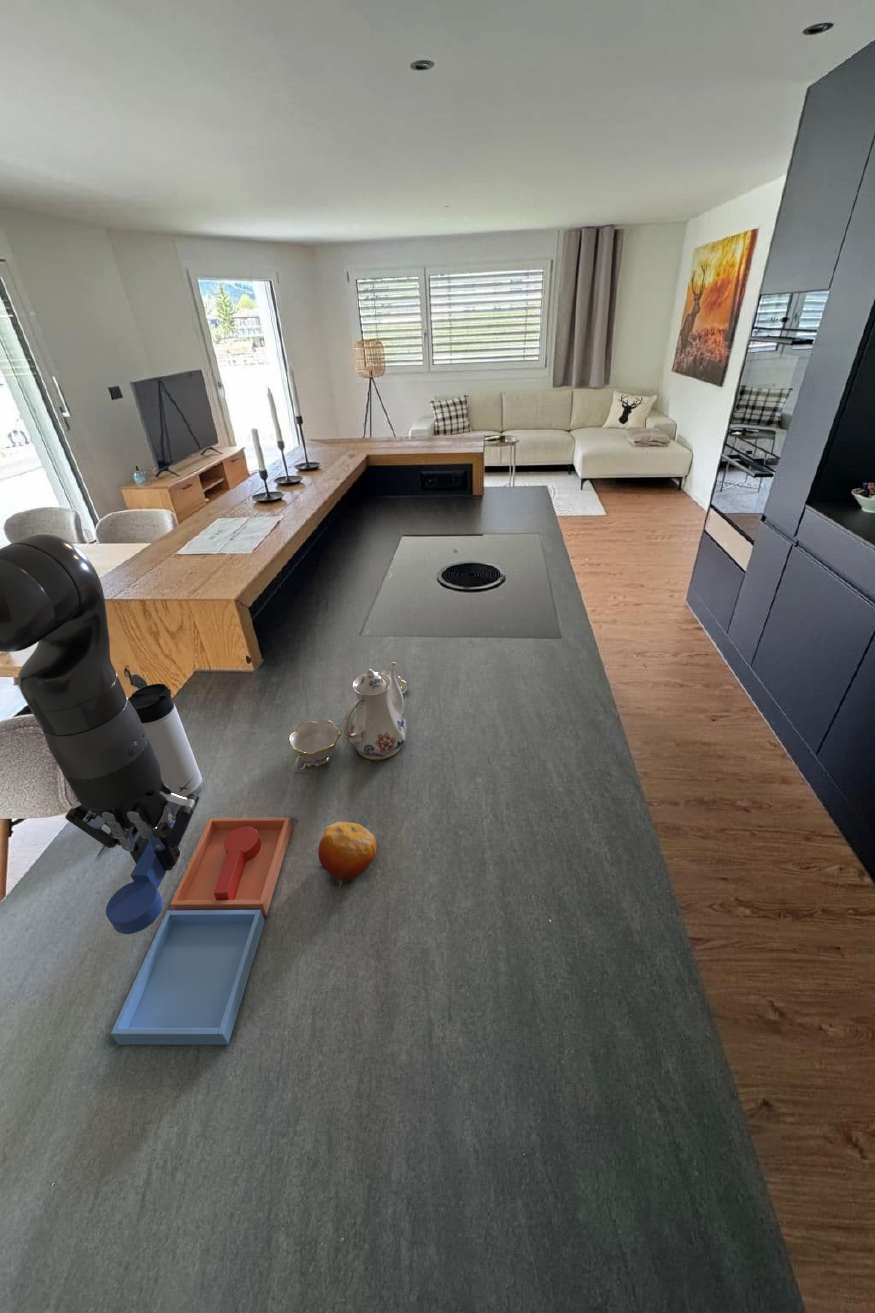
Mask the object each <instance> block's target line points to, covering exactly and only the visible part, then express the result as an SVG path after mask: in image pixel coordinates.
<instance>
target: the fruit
mask: <svg viewBox="0 0 875 1313" xmlns="http://www.w3.org/2000/svg"><path fill="white" fill-rule="evenodd" d="M317 851H318V860H319V863H320V865H321V867H322V869H323V870H324V871H325V872H327V873H328V874H330V875H331V876H332V877H333V879H335V880H336V882H338V889H339V890H341V887H342V884H343V882H344V881H345V882H346V881H348V882H349V881H351V880H353V879H355V878H357V877H359V876H360V875H362V874H363V873H364V872H365V871H366V869H367V868H368V867H369V866H370V865H371V863H372V862H373V861H374V859H375V857H376V855H377V840H376V836H375V834H374V833H373V832H371V831H370V830H368V829H367V828H366V827H364V826H363V825H362V824H360V823H355V822H352V821H351V822H350V821H336V822H334V823H333V824H329V825H327V826H326V827H325V830H324V831H323V833H322V836H321V838H320V840H319V844H318V850H317Z"/></svg>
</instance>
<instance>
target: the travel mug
mask: <svg viewBox="0 0 875 1313" xmlns="http://www.w3.org/2000/svg"><path fill="white" fill-rule="evenodd" d="M128 700H129V701H130V703H131V704H132V706H133V707H134V709H135V710H136V712H137V714H138V716H139V718H140V721H141V723H142V725H143V728H144V730H145V732H146V734H147V737H148V739H149V741H150V744H151V746H152V748H153V751H154V753H155V755H156V757H157V760H158V762H159V765H160V772H161V779H162V781H163V782H164V783H165V784H166V785H168V786H169V787H170V788H171V791H172V794H174V795H177V796H180V797H183V798H186V797H187V795H188V794H191V793H193V794H196V795H197V796H198V794H199V793H200V792H201V791H202V790H203V786H204V780H203V776H202V774H201V771H200V769H199V766H198V764H197V761H196V758H195V755H194V752H193V750H192V747H191V744H190V741H189V739H188V736H187V733H186V731H185V728H184V725H183V723H182V720H181V717H180V715H179V712H178V709H177V707H176V704H175V702H174V700H173V696H172V690H171V689H170V688H169V686H168V685H166V684H164V683H152V684H149V685H145V686H143V687H141V688H139V689H137V690H135V691H134V692H133V693H131V696H129V697H128Z"/></svg>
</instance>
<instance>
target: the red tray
mask: <svg viewBox="0 0 875 1313" xmlns="http://www.w3.org/2000/svg"><path fill="white" fill-rule="evenodd" d="M241 827H252V828H254V829H255V830H256V831H257V832H258V835H259V838H260V841H261V849H260V851H259V853H258V854H257V855H256V856H255V857H254V858H252V859H251V860H249V861H246V864H245V868H244V871H243V874H242V877H241V880H240V884H239V887H238V890H237V893H236V897H235V900H216V898H215V896H214V894H213V893H214V890H215V887H216V885H217V882H218V879H219V876H220V873H221V870H222V867H223V864H224V862H225V859H226V856H227V853H226V850H225V848H224V842H225V839H226V837H227V836H228V835H229V834H230V833H231V832H232V831H234V830H236V829H238V828H241ZM292 831H293V826H292V821H291V818H290V817H289V816H287V817H286V816H285V817H283V816H282V817H281V816H279V817H214V818H212V817H211V818H209V819H208V821H207V823H206V825H205V828H204V829H203V831H202V834H201V836H200V838H199V840H198V843H197V845H196V847H195V849H194V851H193V853H192V856H191V858H190V860H189V862H188V864H187V866H186V868H185V871H184V873H183V875H182V877H181V879H180V882H179V884H178V886H177V888H176V891H175V893H174V894H173V896H172V899H171V901H170V903H169V906H170V908H171V911H182V910H261V912H262V915H263V916H268V912H269V909H270V905H271V902H272V898H273V895H274V893H275V892H274V891H275V888H276V885H277V882H278V879H279V875H280V871H281V868H282V865H283V863H284V862H283V861H284V858H285V854H286V851H287V848H288V844H289V841H290V838H291V835H292Z"/></svg>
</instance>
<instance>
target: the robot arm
mask: <svg viewBox="0 0 875 1313" xmlns="http://www.w3.org/2000/svg"><path fill="white" fill-rule="evenodd" d="M110 642H111V641H110V632H109V624H108V615H107V608H106V598H105V593H104V588H103V585H102V582H101V579H100V577H99V574H98V573H97V570H96V568H95V567H94V565H93V564H92V562H91V561H90V559H89V558H88V557H87V556H86V555H85V554H84V553H83V551H81V549H79V547H77V546H76V545H74V544H73V543H72V542H70V541H68V540H67V539H65V538H63V537H61V536H57V535H54V534H49V533H38V534H37V533H36V534H32V535H28V536H25V537H22V538H21V539H18V540H16V541H14V542H11V543H10V544H7V545H5V546H3V547H1V548H0V652H2V653H14V652H15V653H16V652H20V651H25V650H27V649H29V648H31V647H33V646H34V645H36V644H37V645H36V647H35V650H33V652H32V653H31V654H30V656H29V657H28V658H27V660H25V661H24V664H22V666H21V668H20V670H19V672H18V674H17V684H18V689H19V690H20V693H21V695H22V697H23V699H24V701H25V702H26V704H27V706H28V708H29V709H30V712H31V713H32V715H33V717H34V718H35V720H36V722H37V723H38V725H39V727H40V729H41V731H42V733H43V735H44V738H45V741H46V744H47V747H48V750H49V751H50V752H49V753H50V754H51V755H52V758H53V759H54V761H55V762H56V764H57V766H58V767H59V769H60V771H61V773H62V775H63V777H64V778H65V780H66V782H67V783H68V785H69V787H70V789H71V790H72V792H73V794H74V796H75V797H76V801H75V802H74V803H73V804H72V806H71V807H70V808H69V810H68V811H67V813H66V815H65V820H67V821H68V822H69V823H71V824H72V825H74V826H75V827H77V828H78V829H80V830H81V831H82V832H84V833H85V834H87V835H88V836H90V837H91V838H93V839H94V840H96V841H97V842H99V843H100V844H102V845H103V846H105V848H109V849H114V848H115V847H116V846H120V847H121V848H122V850H124V851H125V852H128V853H129V854H130V856H131V857H132V860H133V861H134V863H135V865H136V864H137V863H138V861H139V859H140V857H141V856H142V854H143V852H144V850H145V848H146V847H147V845H148V843H149V842H150V843H151V845H152V847H153V848H154V852H155V854H156V856H157V857H158V859H159V861H160V863H161V865H162V867H163V869H164V871H166V872H167V871H173V868H174V867H175V866H176V864H177V863H178V860H179V858H180V857H181V850H180V848H179V846H180V844H181V842H182V840H183V837H184V835H185V833H186V831H187V829H188V827H189V825H190V822H191V820H192V817H193V815H194V812H195V810H196V807H197V805H198V802H199V800H200V797H199V795H198V794H197V795H196V794H193V793H191V794H188V795H187V797H186V798H183V797H180V796H177V795H174V794H172V791H171V788H170V787H169V786H168V785H166V784H165V783H164V782H163V781H162V779H161V772H160V765H159V762H158V760H157V757H156V755H155V753H154V751H153V748H152V746H151V744H150V741H149V739H148V737H147V734H146V732H145V730H144V728H143V725H142V723H141V721H140V718H139V716H138V714H137V712H136V710H135V709H134V707H133V706H132V704H131V703H130V701H129V700H128V699H129V697H128V696H127V693H126V692H125V689H124V687H123V685H122V683H121V679H120V677H119V676H118V673H117V670H116V669H115V666H114V665H113V662H112V659H111V643H110ZM167 808H168V809H169V810H170V814H171V815H172V816H171V820H172V821H174V822H175V823H174V825H173V826H172V825H171V824H170V822H171V821H170V820H169V811H168V809H167ZM104 825H105V826H107V827H108V828H109V833H108V832H106V831H105V830H103V826H104ZM181 839H182V840H181ZM180 841H181V842H180ZM179 843H180V844H179ZM178 845H179V846H178Z"/></svg>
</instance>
